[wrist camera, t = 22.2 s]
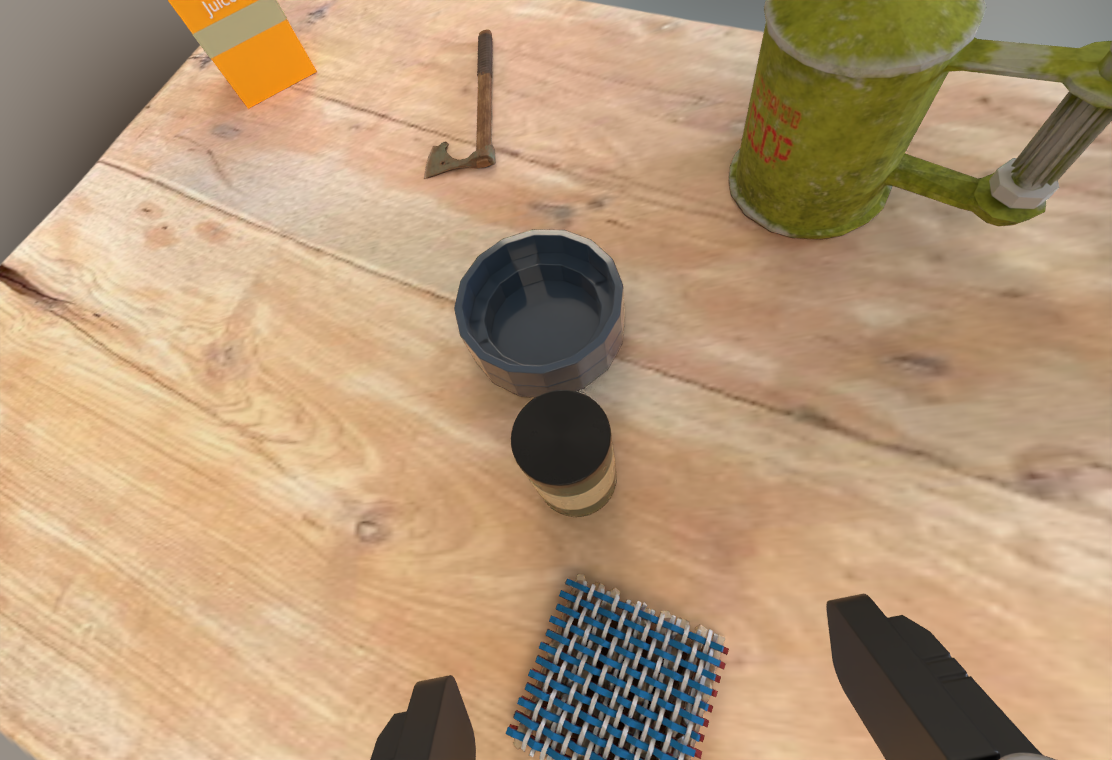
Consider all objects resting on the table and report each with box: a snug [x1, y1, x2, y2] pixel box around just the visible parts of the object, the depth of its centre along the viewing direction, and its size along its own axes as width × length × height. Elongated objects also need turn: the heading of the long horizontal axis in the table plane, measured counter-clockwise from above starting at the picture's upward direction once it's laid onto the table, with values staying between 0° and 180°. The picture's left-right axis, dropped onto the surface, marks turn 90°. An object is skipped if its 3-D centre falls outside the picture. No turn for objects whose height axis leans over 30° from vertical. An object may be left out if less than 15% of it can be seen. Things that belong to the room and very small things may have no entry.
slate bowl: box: [454, 230, 625, 397], centre depth 43 cm, size 12×12×5 cm
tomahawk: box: [424, 30, 495, 179], centre depth 57 cm, size 20×7×1 cm, turn 2°
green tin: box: [511, 390, 616, 517], centre depth 36 cm, size 6×6×9 cm
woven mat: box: [506, 574, 729, 760], centre depth 33 cm, size 10×11×2 cm
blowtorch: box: [729, 0, 1112, 239], centre depth 36 cm, size 13×33×25 cm, turn 57°
